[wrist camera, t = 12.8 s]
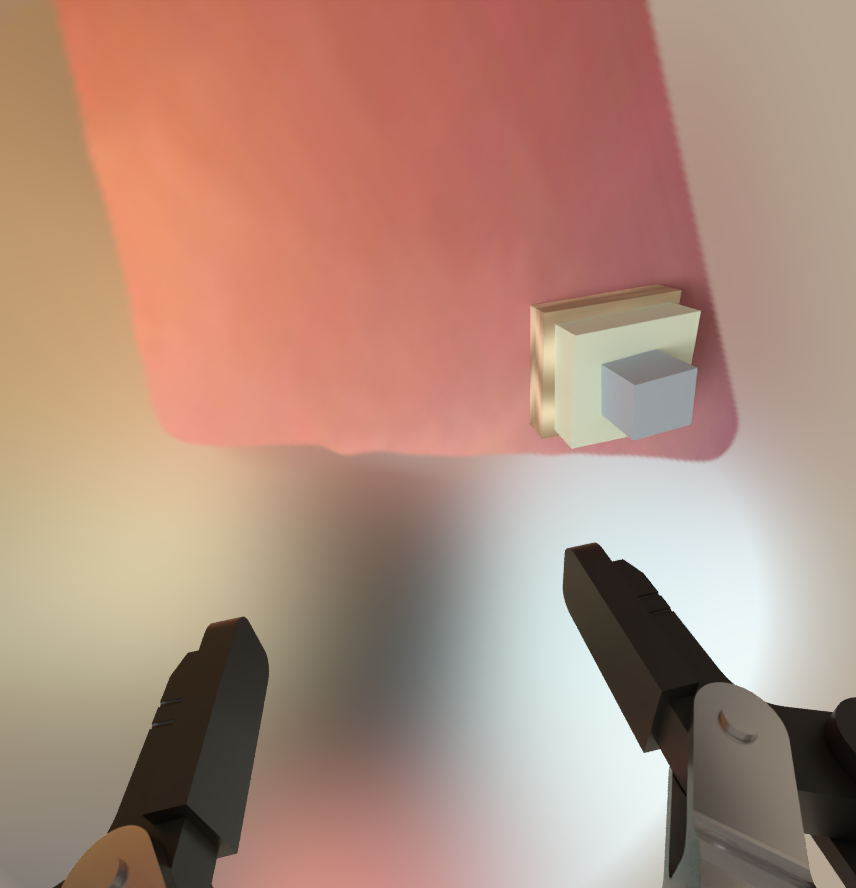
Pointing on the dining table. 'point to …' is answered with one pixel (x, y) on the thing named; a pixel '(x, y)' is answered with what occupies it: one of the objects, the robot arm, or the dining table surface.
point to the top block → (604, 342)
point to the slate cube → (648, 393)
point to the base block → (568, 311)
